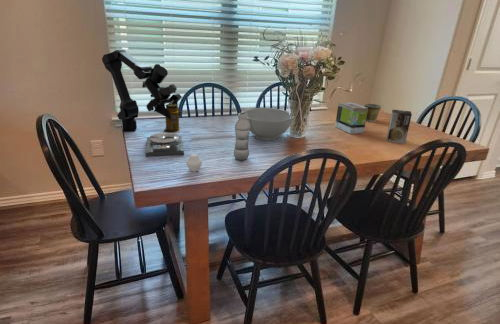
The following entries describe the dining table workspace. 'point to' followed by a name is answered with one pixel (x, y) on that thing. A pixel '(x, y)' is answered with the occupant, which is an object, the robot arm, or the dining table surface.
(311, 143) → the dining table surface
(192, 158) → the white egg shape
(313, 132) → the dining table surface
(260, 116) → the decorative bowl
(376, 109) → the ceramic cup
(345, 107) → the tea box
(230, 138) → the dining table surface
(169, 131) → the condiment
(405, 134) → the coffee box
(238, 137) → the plastic bottle
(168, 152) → the scale base
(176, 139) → the scale pan
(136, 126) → the robot arm
